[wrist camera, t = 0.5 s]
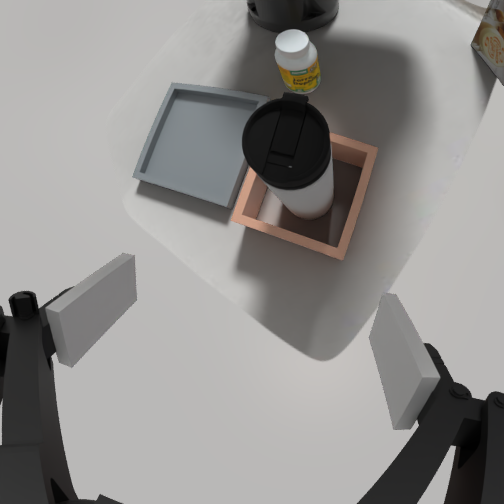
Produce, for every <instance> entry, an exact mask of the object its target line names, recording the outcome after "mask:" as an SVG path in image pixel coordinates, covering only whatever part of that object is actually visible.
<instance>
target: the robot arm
mask: <svg viewBox="0 0 504 504" xmlns="http://www.w3.org/2000/svg"><path fill="white" fill-rule="evenodd" d="M247 6H248V9H249V12H250V14H251V16H252V18H253V20H254V21H255V22H256V23H257V24H258V25H260V26H261V27H263V28H265V29H268V30H271V31H274V32H280V33H282V32H284V31H286V30H291V29H296V30H300V31H302V32H306V31H311V30H314V29H317V28H319V27H321V26H323V25H325V24H327V23H328V22H329V21H331V20H332V19H333V18H334V17H335V15H336V13H337V11H338V8H339V3H338V0H247ZM136 301H137V292H136V274H135V255H131V254H125V253H122V254H121V255H119V256H118V257H116V258H115V259H114V260H112V261H110V262H109V263H108V264H106V265H105V266H103V267H102V268H100V269H99V270H97V271H96V272H94V273H93V274H91V275H90V276H89V277H87V278H86V279H84V280H83V281H82V282H80V283H79V284H77V285H76V286H73V287H71V288H68V289H65V290H64V291H63V292H61V293H60V294H59V295H57V296H56V297H54V298H53V299H51V300H50V301H49V302H47V303H46V304H44V305H43V306H42V307H41V308H38V304H37V299H36V294H35V293H33V292H30V291H21V292H17V293H15V294H13V295H12V296H11V297H10V298H9V304H10V308H11V312H12V315H13V316H5V315H4V312H3V309H2V307H1V306H0V404H1V401H2V399H3V405H2V406H3V407H2V445H0V504H122V503H120V502H117V501H115V500H113V499H110V498H108V497H105V496H103V495H101V494H100V495H99V497H98V499H97V500H96V501H95V500H87V499H78V497H77V495H76V493H75V491H74V488H73V485H72V482H71V477H70V474H69V469H68V465H67V460H66V456H65V451H64V446H63V441H62V435H61V429H60V423H59V417H58V410H57V401H56V392H55V382H54V370H53V361H52V358H51V356H52V355H53V354H54V353H55V352H56V354H57V357H58V360H59V363H62V364H64V365H67V366H69V367H71V368H72V367H73V366H74V365H75V364H76V363H77V362H78V361H79V360H80V358H82V357H83V356H84V354H85V353H86V352H87V351H88V350H89V349H90V348H91V347H92V346H93V345H94V344H95V343H96V342H97V341H98V340H99V339H100V338H101V336H102V335H103V334H104V333H105V332H106V331H107V330H108V329H109V328H110V327H111V326H112V325H113V324H114V323H115V322H116V321H117V320H118V319H119V318H120V317H121V316H122V315H123V314H124V313H125V312H126V311H127V310H128V308H129V307H131V306H132V305H133V304H134V302H136ZM369 339H370V343H371V346H372V350H373V353H374V357H375V360H376V363H377V367H378V371H379V374H380V378H381V381H382V385H383V389H384V393H385V396H386V401H387V404H388V409H389V413H390V416H391V421H392V425H393V429H395V430H402V429H411V428H412V426H413V425H414V423H415V421H416V420H418V424H419V426H418V428H417V429H416V431H415V432H414V434H413V435H412V437H411V438H410V440H409V441H408V442H407V444H406V445H405V447H404V448H403V449H402V450H401V452H400V453H399V454H398V456H397V457H396V458H395V460H394V461H393V462H392V464H391V465H390V466H389V467H388V469H387V470H386V471H385V472H384V474H383V475H382V476H381V477H380V478H379V480H378V481H377V482H376V483H375V484H374V485H373V487H372V488H371V489H370V490H369V491H368V492H367V493H366V494H365V495H364V497H363V498H362V499H361V500H360V501H359V502H358V503H357V504H417V502H418V501H419V499H420V498H421V496H422V495H423V493H424V492H425V490H426V489H427V487H428V485H429V484H430V482H431V480H432V479H433V477H434V475H435V474H436V472H437V470H438V468H439V467H440V465H441V463H442V461H443V459H444V458H445V456H446V454H447V452H448V450H449V448H450V446H451V445H453V446H456V450H455V455H454V461H453V467H452V471H451V476H450V481H449V485H448V489H447V494H446V497H445V501H444V504H504V393H501V392H496V391H495V392H491V393H490V394H489V395H488V397H487V399H486V400H480V399H476V398H472V395H471V393H470V391H469V390H468V389H467V388H466V387H465V386H463V385H462V384H459V383H456V382H454V381H453V379H452V377H451V375H450V374H449V371H448V370H447V367H446V366H445V365H444V362H443V360H442V359H441V356H440V355H439V353H438V351H437V350H436V349H435V348H434V347H433V346H432V345H431V344H429V343H423V342H422V340H421V338H420V336H419V334H418V332H417V331H416V329H415V327H414V325H413V323H412V321H411V320H410V318H409V316H408V314H407V312H406V311H405V309H404V307H403V305H402V304H401V302H400V300H399V298H398V297H397V295H396V294H390V293H383V294H382V297H381V301H380V304H379V307H378V311H377V314H376V317H375V320H374V324H373V327H372V330H371V333H370V336H369Z"/></svg>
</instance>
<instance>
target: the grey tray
mask: <svg viewBox="0 0 504 504" xmlns="http://www.w3.org/2000/svg"><path fill="white" fill-rule="evenodd" d="M269 101H270V99H269V97H268V96H264V95H258V94H253V93H247V92H242V91H236V90H229V89H223V88H216V87H208V86H200V85H191V84H182V83H171V86H170V88H169V90H168V92H167V94H166V96H165V98H164V100H163V103H162V105H161V107H160V109H159V112H158V114H157V116H156V118H155V121H154V123H153V125H152V128H151V130H150V133H149V135H148V137H147V140H146V142H145V145H144V147H143V150H142V152H141V155H140V158H139V160H138V163H137V165H136V168H135V171H134V174H133V176H132V177H133V178H136V179H138V180H141V181H144V182H148V183H151V184H154V185H157V186H161V187H164V188H167V189H170V190H173V191H177V192H180V193H183V194H186V195H189V196H192V197H195V198H199V199H202V200H205V201H208V202H211V203H214V204H217V205H220V206H223V207H226V208H229V209H233V206H234V203H235V201H236V198H237V195H238V192H239V189H240V187H241V184H242V181H243V178H244V176H245V173H246V170H247V168H248V165H249V164H248V163H247V161H246V159H245V156H244V154H243V149H242V134H243V130H244V127H245V125H246V122H247V121H248V119H249V118H250V116H251V115H252V114H253V113H254V112H255V110H256V109H258V108H259V107H260V106H262V105H263V104H265V103H267V102H269Z"/></svg>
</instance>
